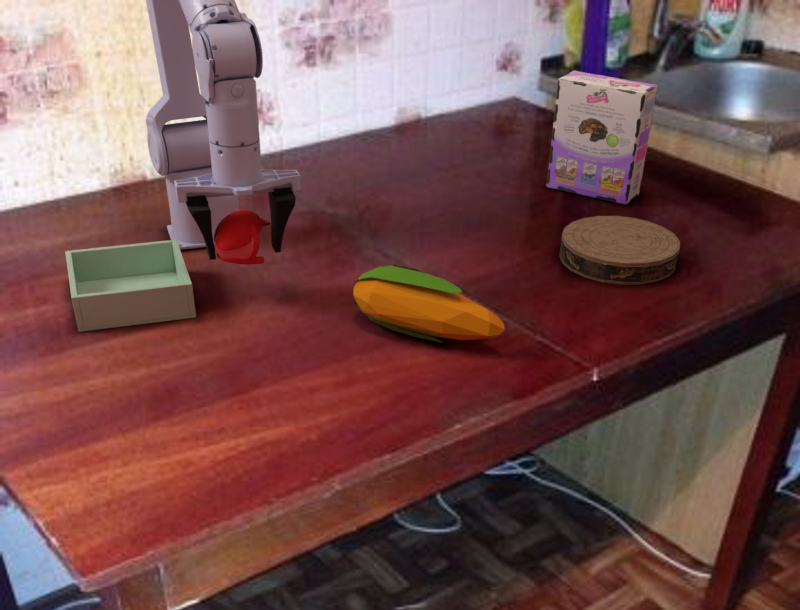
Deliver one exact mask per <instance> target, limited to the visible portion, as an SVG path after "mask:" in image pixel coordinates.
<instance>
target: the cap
mask: <svg viewBox="0 0 800 610" xmlns="http://www.w3.org/2000/svg"><path fill="white" fill-rule="evenodd" d="M267 226H271V221H269V220H267V219H265V218H262V217H261V216H260V215H259V214H258V213H256V212H255V211H253V210H250V209H239V210H238V211H234V212H232V213H230V214H228V215H227V216H226V217H224V218H223V219H222V220H221V222H220V223H219V224H218V226H217V228H216V230H215V234H214V242H215V243H214V245H215V246H214V247H215V253H216V257H217V258H218V259H219V260H221V261H223V262H226V263H230V264H235V265H236V264H237V265H247V266H248V265H263V264H264V263H265V257H264V256H257V255H258V252H259V250H260V245H261V239H260V238H261V237H260V233H261V231H262V228H263V227H267Z"/></svg>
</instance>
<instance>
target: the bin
mask: <svg viewBox="0 0 800 610" xmlns="http://www.w3.org/2000/svg"><path fill="white" fill-rule="evenodd" d="M64 254H65V262H66V268H67V275H68V281H69V282H68V283H69V289H70V297H71V302H72V308H73V312H74V317H75V321H76V322H75V323H76V326H77V331H78V333H82V332H90V331H99V330H105V329H114V328H121V327H122V328H123V327H129V326H130V327H131V326H138V325H146V324H147V325H148V324H154V323H161V322H170V321H179V320H187V319H193V318H194V319H195V318H197V311H196V303H195V295H194V289H193V282H192V279H191V277H190V274H189V270H188V268H187V266H186V263H185V262H186V261H185V260H184V257H183V254H182V250H180V248H179V245H178V242H177V240H171V239H168V240H159V241H148V242H140V243H130V244H120V245H112V246H111V245H110V246H102V247H101V246H100V247H91V248H82V249H71V250H65V251H64Z"/></svg>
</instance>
